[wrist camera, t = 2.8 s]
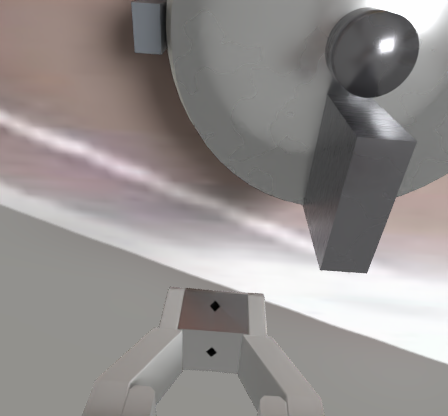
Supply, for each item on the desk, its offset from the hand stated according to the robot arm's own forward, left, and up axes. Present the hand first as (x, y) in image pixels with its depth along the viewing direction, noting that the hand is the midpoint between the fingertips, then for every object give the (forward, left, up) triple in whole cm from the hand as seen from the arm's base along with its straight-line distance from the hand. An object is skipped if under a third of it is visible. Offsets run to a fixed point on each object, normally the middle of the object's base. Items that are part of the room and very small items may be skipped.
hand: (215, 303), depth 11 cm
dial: (-3, +8, -10) cm, 13 cm away
